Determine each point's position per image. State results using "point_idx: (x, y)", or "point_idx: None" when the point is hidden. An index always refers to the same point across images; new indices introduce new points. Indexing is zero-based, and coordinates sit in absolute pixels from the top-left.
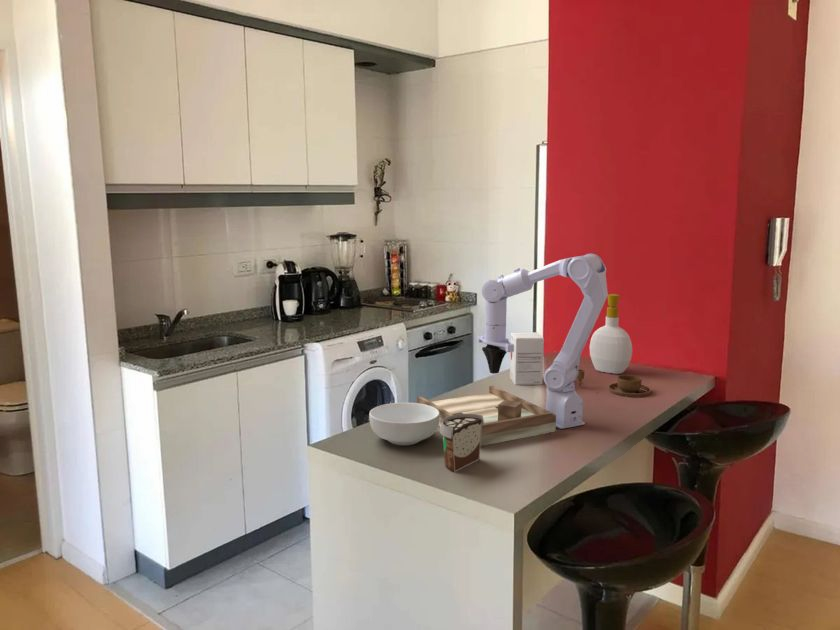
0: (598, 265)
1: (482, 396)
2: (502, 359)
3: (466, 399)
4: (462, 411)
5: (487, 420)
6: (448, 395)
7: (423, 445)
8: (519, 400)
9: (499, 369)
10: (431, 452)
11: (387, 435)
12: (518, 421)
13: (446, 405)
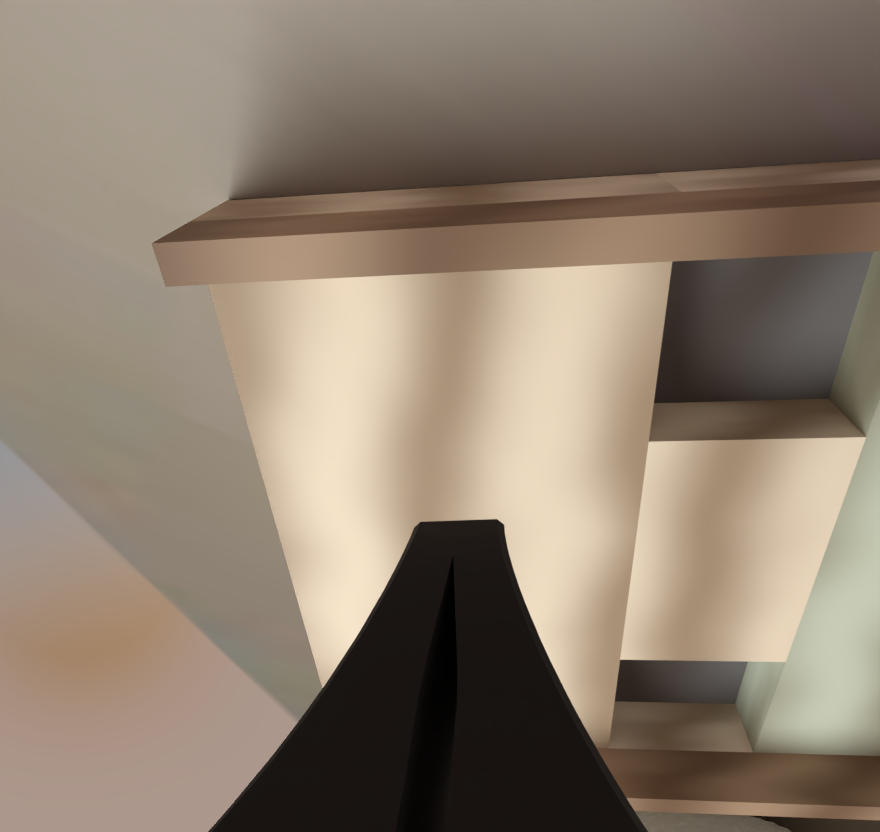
0: None
1: (308, 380)
2: (599, 756)
3: (353, 525)
4: (602, 650)
5: (872, 616)
6: (26, 450)
7: (784, 817)
8: (837, 251)
9: (508, 556)
10: (875, 825)
11: None
12: None
13: None
